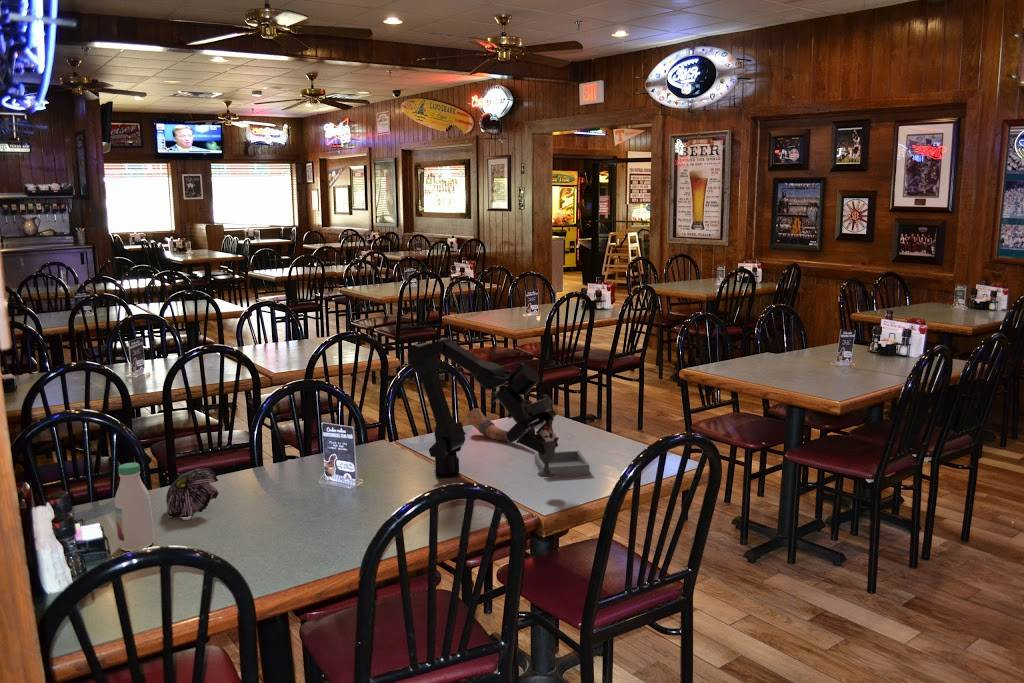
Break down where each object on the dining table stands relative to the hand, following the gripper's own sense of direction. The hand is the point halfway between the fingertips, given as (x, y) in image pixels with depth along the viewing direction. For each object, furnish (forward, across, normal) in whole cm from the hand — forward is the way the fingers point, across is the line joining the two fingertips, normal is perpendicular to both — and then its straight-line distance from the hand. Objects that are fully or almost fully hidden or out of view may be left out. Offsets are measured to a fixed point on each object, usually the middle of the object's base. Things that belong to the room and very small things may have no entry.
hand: (550, 450), depth 222 cm
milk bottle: (-39, -77, +59) cm, 104 cm away
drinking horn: (-18, +36, +37) cm, 55 cm away
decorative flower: (-45, -56, +64) cm, 96 cm away
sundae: (+4, 0, +6) cm, 7 cm away
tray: (+4, +21, +15) cm, 26 cm away
